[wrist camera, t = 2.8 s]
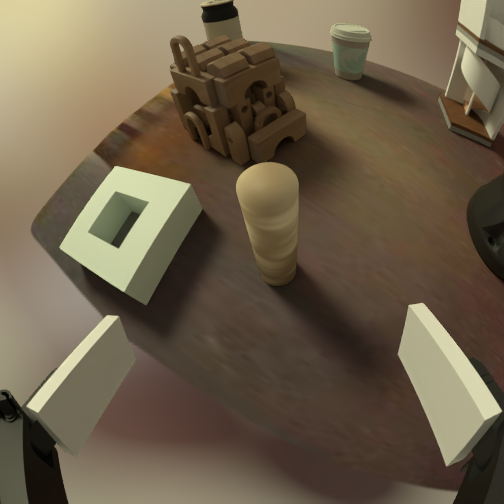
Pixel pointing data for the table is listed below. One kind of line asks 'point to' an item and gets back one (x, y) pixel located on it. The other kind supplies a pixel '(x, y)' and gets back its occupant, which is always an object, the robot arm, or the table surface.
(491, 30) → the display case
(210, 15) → the travel mug
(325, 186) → the table surface
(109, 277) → the socket block
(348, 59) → the coffee cup
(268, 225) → the dowel
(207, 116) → the wooden puzzle
